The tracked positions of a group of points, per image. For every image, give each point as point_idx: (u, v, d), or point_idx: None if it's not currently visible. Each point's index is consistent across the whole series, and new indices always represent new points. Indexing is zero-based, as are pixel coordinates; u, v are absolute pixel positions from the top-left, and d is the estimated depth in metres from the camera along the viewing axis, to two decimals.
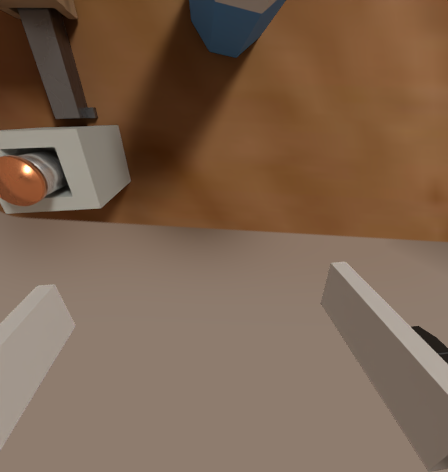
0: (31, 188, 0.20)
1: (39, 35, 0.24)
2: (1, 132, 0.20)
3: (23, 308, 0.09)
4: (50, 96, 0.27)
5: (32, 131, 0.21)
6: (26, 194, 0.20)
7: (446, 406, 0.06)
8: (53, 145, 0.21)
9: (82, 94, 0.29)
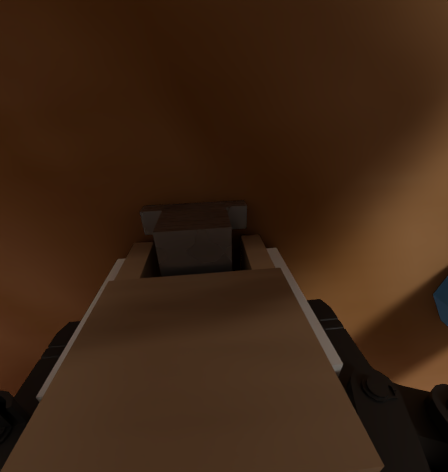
0: None
1: None
2: None
3: (114, 275, 0.10)
4: None
5: None
6: None
7: None
8: None
9: None
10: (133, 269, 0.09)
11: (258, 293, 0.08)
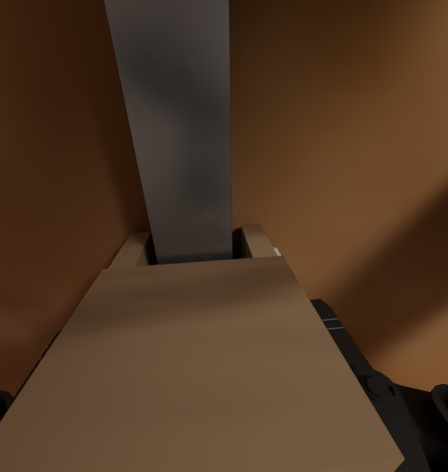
0: None
1: (188, 240, 0.08)
2: None
3: None
4: None
5: None
6: None
7: None
8: None
9: None
10: (128, 258, 0.09)
11: (260, 280, 0.07)
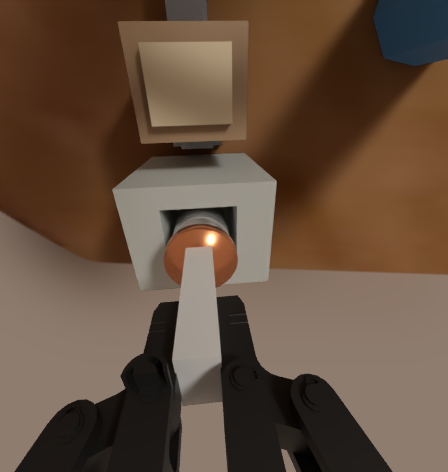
0: (221, 268, 0.14)
1: None
2: (168, 187, 0.13)
3: (190, 261, 0.11)
4: None
5: (213, 185, 0.14)
6: None
7: None
8: (236, 204, 0.14)
9: None
10: None
11: None
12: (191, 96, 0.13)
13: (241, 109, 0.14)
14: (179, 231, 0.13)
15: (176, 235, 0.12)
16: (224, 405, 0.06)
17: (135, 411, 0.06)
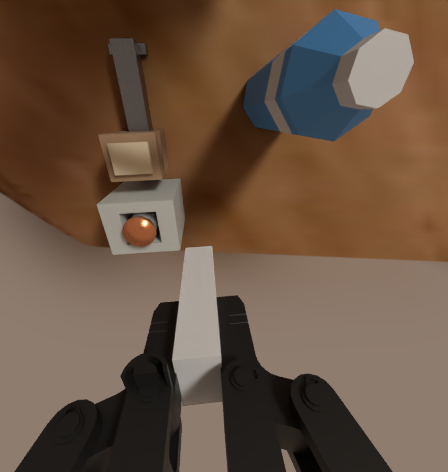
0: (148, 236, 0.31)
1: (136, 125, 0.33)
2: (122, 203, 0.29)
3: (190, 261, 0.11)
4: None
5: (143, 202, 0.30)
6: (144, 239, 0.31)
7: None
8: (155, 210, 0.30)
9: None
10: (121, 131, 0.34)
11: None
12: (132, 162, 0.29)
13: (157, 166, 0.30)
14: (128, 219, 0.30)
15: (127, 220, 0.30)
16: (224, 405, 0.06)
17: (135, 411, 0.06)
